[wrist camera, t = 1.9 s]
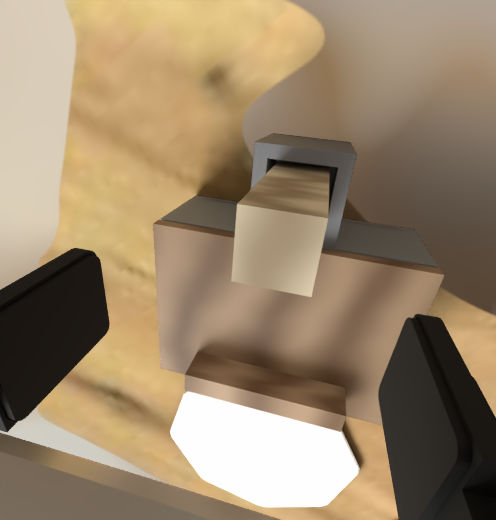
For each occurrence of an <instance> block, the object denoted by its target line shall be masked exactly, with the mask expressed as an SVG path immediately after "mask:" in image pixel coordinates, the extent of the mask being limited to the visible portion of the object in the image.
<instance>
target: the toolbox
mask: <svg viewBox="0 0 496 520" xmlns="http://www.w3.org/2000/svg"><path fill="white" fill-rule="evenodd" d="M356 155H357V154H356V152H355V150H354V148H353V146H352V144H351V143H350V142H342V141H335V140H326V139H317V138H309V137H301V136H291V135H283V134H274V133H273V134H271V135H269V136H267V137H264V138H262V139H260V140H258V141H256V142H255V148H254V159H253V170H252V181H251V189H252V188H253V187H254V186H255V185H256V184H257V183H258V182H259V181H260V180H261V179H262V178H263V177H264V176H265V174H266V173H267V172H268V171H269V170H270V169H271V168H272V167H273V166H274V165H275V164H276V163H277V162H278V161H279V160H284V161H292V162H300V163H307V164H315V165H323V166H330V177H329V212H328V222H327V227H326V231H325V236H324V241H323V245H322V248H324V249H330V250H336V251H342V252H347V253H353V254H359V255H365V256H370V257H376V258H382V259H388V260H393V261H399V262H405V263H411V264H417V265H422V266H428V267H434V268H439V266H438V265H437V263H436V262H435V260H434V259H433V257H432V256H431V254H430V253H429V251H428V250H427V248H426V247H425V245H424V244H423V242H422V241H421V239H420V238H419V236H418V235H417V233H416V232H415V230H414V229H408V228H402V227H395V226H389V225H383V224H376V223H370V222H363V221H357V220H351V219H344V218H342V216H343V211H344V207H345V203H346V198H347V194H348V190H349V186H350V181H351V177H352V173H353V169H354V164H355V160H356ZM237 204H238V202H235V201H229V200H223V199H216V198H210V197H203V196H197V195H196V196H194V197H193V198H191V199H190V200H188V201H187V202H185V203H184V204H182V205H181V206H179V207H178V208H176V209H175V210H173V211H172V212H170V213H169V214H167V215H166V216H164V217H163V218H161V220H163V221H169V222H175V223H180V224H186V225H192V226H198V227H203V228H209V229H215V230H221V231H226V232H232V233H235V225H236V212H237Z"/></svg>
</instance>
